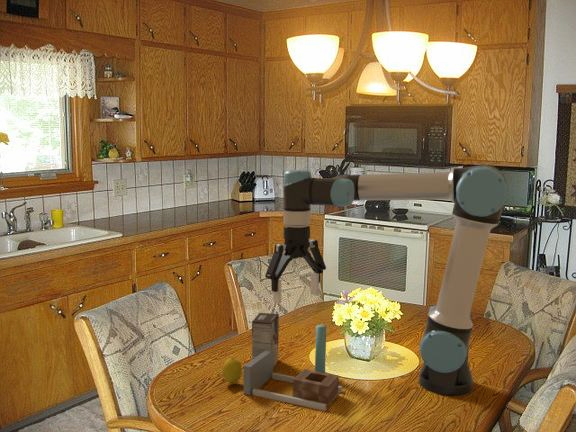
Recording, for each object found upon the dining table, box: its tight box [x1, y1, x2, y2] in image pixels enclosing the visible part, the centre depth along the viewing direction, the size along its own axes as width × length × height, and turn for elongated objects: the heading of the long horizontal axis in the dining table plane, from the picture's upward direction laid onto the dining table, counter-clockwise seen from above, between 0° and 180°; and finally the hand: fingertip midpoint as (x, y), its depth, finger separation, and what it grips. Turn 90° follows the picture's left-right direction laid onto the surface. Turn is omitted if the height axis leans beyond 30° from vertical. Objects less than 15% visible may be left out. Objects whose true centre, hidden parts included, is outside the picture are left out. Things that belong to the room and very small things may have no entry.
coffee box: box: [251, 312, 280, 369], centre depth 185 cm, size 9×6×16 cm
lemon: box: [221, 356, 243, 385], centre depth 174 cm, size 6×6×8 cm
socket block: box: [292, 368, 340, 408], centre depth 164 cm, size 10×8×6 cm
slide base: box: [243, 349, 343, 412], centre depth 167 cm, size 25×15×9 cm, turn 65°
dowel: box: [314, 324, 327, 373], centre depth 178 cm, size 3×3×16 cm
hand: (296, 298), depth 174 cm, fingers open, 13 cm apart
